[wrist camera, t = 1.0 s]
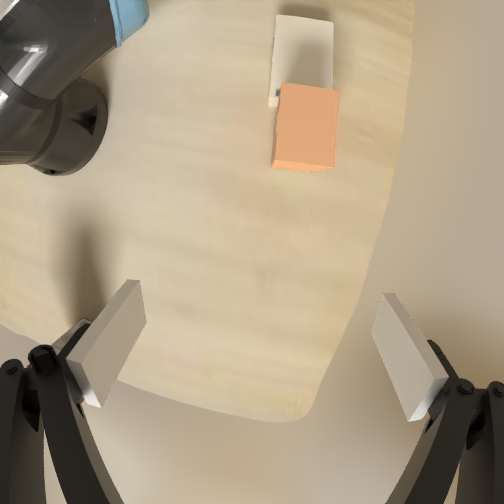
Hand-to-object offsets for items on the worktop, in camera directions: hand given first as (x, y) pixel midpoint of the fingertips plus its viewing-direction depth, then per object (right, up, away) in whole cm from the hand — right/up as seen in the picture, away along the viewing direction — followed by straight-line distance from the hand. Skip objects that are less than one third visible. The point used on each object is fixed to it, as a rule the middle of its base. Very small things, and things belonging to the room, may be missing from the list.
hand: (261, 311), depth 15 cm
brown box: (+5, +17, +19) cm, 26 cm away
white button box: (+6, +27, +17) cm, 32 cm away
